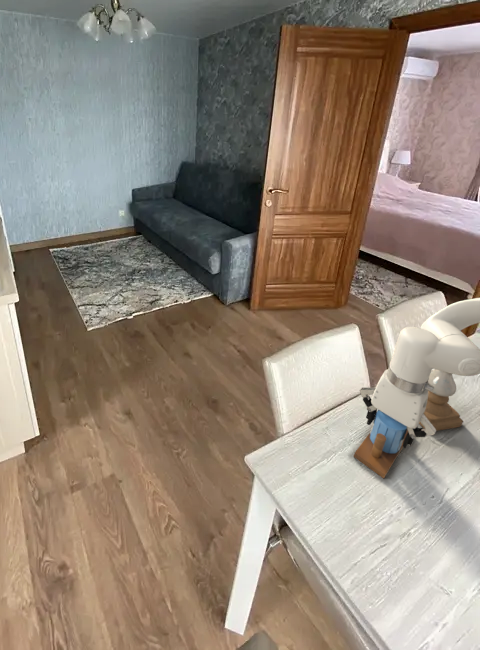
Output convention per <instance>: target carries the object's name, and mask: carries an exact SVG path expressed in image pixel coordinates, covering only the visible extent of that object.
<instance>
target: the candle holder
mask: <svg viewBox="0 0 480 650" xmlns="http://www.w3.org/2000/svg"><path fill="white" fill-rule="evenodd" d="M454 379H455V378H454V377H453V374H451V373H448V372H444V371H441V370H437V369H432V371H431V373H430V376H429V380H428V382H429V384H431V385H432V386H434V389H433V391H432V392H430V391H428V400H427V405H426V408H425V412H424V415H425V416H426V418H427V419H428V420H429V421H430V423H431V424H432V425H433V426H434V428H435V429H436V432H437V431H445V430H449V429H456V428H460V427H462V426H463V423H464V420H463V419H462V418H461V415H460V413H459V412H458V411H457V410H456V409H455V408H454V407H453V406H451V405H450V404H449V402H450V397H452V396H454V395H455V394H456V392H457V383H456V381H455V380H454ZM418 425H420V426H421V428H425V427H424V426H423V425H422V423H421V422H419V424H418Z"/></svg>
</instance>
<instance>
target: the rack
mask: <svg viewBox="0 0 480 650" xmlns="http://www.w3.org/2000/svg"><path fill="white" fill-rule="evenodd" d="M407 433H408V429H407V431H406V434H405V437H406V435H407ZM405 437H404V440H405ZM404 440H403V442H404ZM385 442H386V437H385V436H384V435H383V434H380V433H378V434H377V436H376V439H375V442H374V444H373V443H372V441H371V439H370V432H369V433H368V434H367V435H366V437H365V438H364V439H363V441H362V442H361V444H360V445H359V446H358V448H357V449H356V450H355V452H354V454H353V458H354V459H356V460H357V461H358V462H360V463H361V464H363V465H364V466H365V467H366V468H368V469H369V470H371V471H372V472H373V473H375V474H377V475H378V476H379V477H380V478H382V479H385V478H386V477H387V475H388V473H389V471H390V470H391V468H392V466H393V465H394V463H395V462H396V460H397V458H398V457H399V455H400V453H401V451H402V450H403V449H404V447H403V446H402V445H403V442H402V445H401V448H400V450H399V451H398V452H397V453H395V454H389V453H386V452H384V451H382V450H383V447H384V445H385Z"/></svg>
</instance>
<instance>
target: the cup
mask: <svg viewBox="0 0 480 650" xmlns="http://www.w3.org/2000/svg"><path fill="white" fill-rule="evenodd" d="M406 431H407V427H406V426H405V425H403V424H402V423H400V422H398V421H397V420H395V419H393V418H392V417H390V416H388V415H387V414H385V413H383V412H382V411H380V410H378V409H377V412H376V416H375V419H374V420H373V422H372V425H371V428H370V431H369V433H370V439H371V441H372V443H373V444H374V442H375V439H376V436H377V434H378V433H380V434H383V435H384V436H385V437H386V442H385V445H384V447H383V450H382V451H384V452H386V453H389V454H395V453H397V452H398V451H399V450H400V448H401V445H402V442H403V440H404V437H405V434H406Z"/></svg>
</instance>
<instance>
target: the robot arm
mask: <svg viewBox="0 0 480 650" xmlns="http://www.w3.org/2000/svg"><path fill="white" fill-rule="evenodd" d="M476 324H480V297H475V298H470V299H464V300H460V301H456V302H454V303H451V304H449V305H447V306H445V307H443V308H442V309H439V311H437V312H435V313H434V314H431V315H430V316H429V317H428V318H427V319H425V320H424V322H422V323H421V326H420V327H419V326H406V327H403V328H402V329H401V330H400V332H399V334H398V336H397V340H396V343H395V346H394V350H393V353H392V356H391V359H390V362H389V365H388V369H385V370H384V372H383V373H382V375H381V376H380V378H379V380H378V382H377V384H376V385H375V387H361V388H360V389H359V393H360V396H361V397H362V401H363V404H364V405H365V406H366V410H367V412H366V416H365V418H366V419H367V421H366V425H367V426H371V424H373V422H374V419H375V416H376V412H377V411H378V410H380V411H382V412H383V413H385V414H387V415H388V416H390V417H392V418H393V419H395V420H397V421H398V422H400V423H402V424H403V425H405V426H406V427H407V429H408V433H407V435H406V437H405V440H404V442H403V445H402V446H403V449H406V448H407V447H408V445H409V446H410V447H411V446H412V445H413V443H414V441H415V439H416V438H425V437H429V436H435V434H436V433H437V431H436V429H435V428H434V426H433V425H432V424H431V423H430V421H429V420H428V419H427V418H426V416H425V415H424V412H425V408H426V405H427V400H428V391H430V392H432V391H433V389H434V386H432V385H431V384H429V382H428V380H429V376H430V373H431V371H432V370H434V369H437V370H441V371H444V372H448V373H451V374H452V375H455V376H461V377H473V376H477V375H480V348H479V347H478V346H477V345H476V344H475V343H474V342H473V341H472V340H471V339H470V338H469V337H468V336H467V335H466V334H465V333H464V332H463V331H462V330H464V329H466V328H468V327H470V326H473V325H476ZM370 395H371V397H370ZM419 422H421V423H422V425H423V426H424V427H425V428H423V427H419V425H420V424H419Z"/></svg>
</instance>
